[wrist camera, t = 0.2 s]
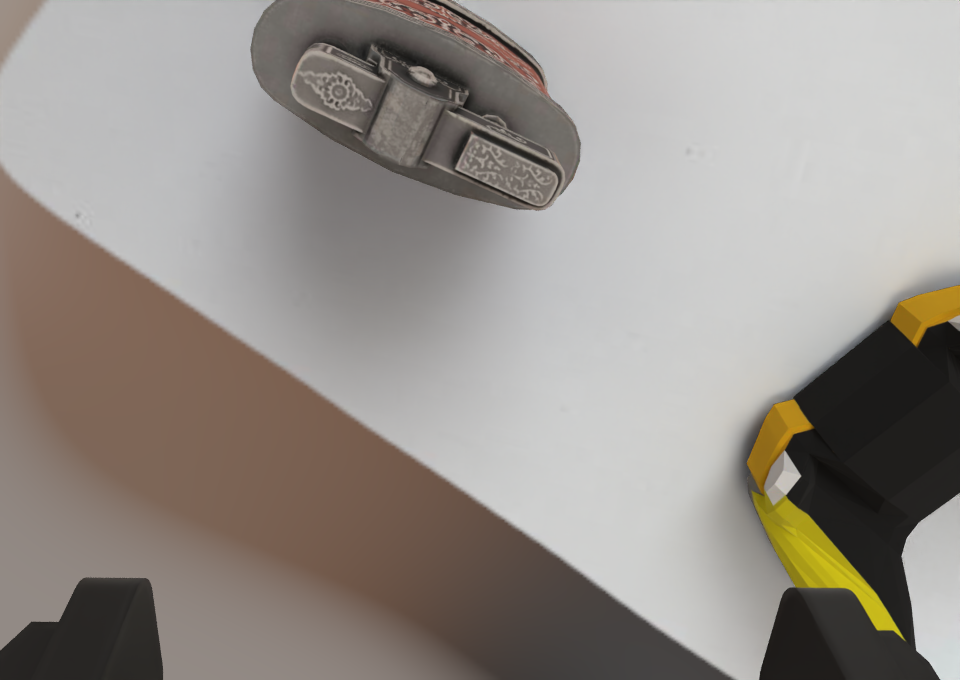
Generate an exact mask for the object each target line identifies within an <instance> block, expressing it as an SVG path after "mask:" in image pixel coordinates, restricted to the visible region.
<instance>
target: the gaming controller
mask: <svg viewBox="0 0 960 680" xmlns="http://www.w3.org/2000/svg"><path fill="white" fill-rule="evenodd" d="M747 465H748V467H749V469H750V471H751V473H750V475H749V476H748V478H747V484H748V491H749V495H750V498H751V500H752V502H753V505H754V507H755V509H756V512H757V514H758V516H759V518H760V521H761V523H762V525H763V528H764V530H765V532H766V535H767V537H768V539H769V541H770V543H771V544H772V546H773V548H774V550H775V552H776V553H777V555H778V557H779V559H780V560H781V562H782V564H783V566H784V567H785V569H786V571H787V573H788V574H789V576H790V578H791V580H792V581H793V583H794V585H795V587H796V588H847V589H849V590H851V591H852V592H853V593H854V594H855V595H856V596H857V598H858V599H859V601H860V602H861V604H862V606H863V607H864V609H865V611H866V613H867V614H868V616H869V618H870V619H871V621H872V623H873V624H874V626H875V628H876V629H877V630H893V631H895V632H896V633H897V634H898V635H899V636H900V637H901V638H902V639H903V640H905V641H906V642H907V643H908V644H909V645H910V646H911V647H912V648H914V649H915V650H916V646H915V636H914V626H913V617H912V607H911V601H910V596H909V591H908V586H907V581H906V576H905V572H904V567H903V562H902V557H901V556H902V552H903V549H904V545H905V542H906V538H907V537H908V536H909V534H910V533H911V532H912V530H913V529H914V528H915V527H916V525H917V524H918V523H919V522H920V521H921V520H923V519H924V518H925V517H927V516H928V515H930V514H931V513H932V512H934V511H935V510H937V509H938V508H939V507H941V506H942V505H943V504H945V503H946V502H948V501H949V500H950V499H952V498H953V497H955V496H956V495H957V494H959V493H960V285H957V286H953V287H949V288H945V289H941V290H937V291H933V292H929V293H925V294H921V295H917V296H914V297H912V298H909V299H907V300H904V301H902V302H899V303H898V305H897V307H896V310H895V312H894V314H893V316H892V318H891V320H890V321H887V322H886V323H885V324H883V325H882V326H881V327H880V328H878V329H877V330H876V331H875V332H874V333H872V334H871V335H870V336H869V337H867V338H866V339H865V340H864V341H862V342H861V343H860V344H859V345H857V346H856V347H855V348H854V349H853V350H851V351H850V352H849V353H848V354H846V355H845V356H844V357H843V358H841V359H840V360H839V361H838V362H837V363H835V364H834V365H833V366H832V367H830V368H829V369H828V370H827V371H825V372H824V373H823V374H822V375H820V376H819V377H818V378H817V379H816V380H814V381H813V382H812V383H811V384H809V385H808V386H807V387H806V388H804V389H803V390H802V391H801V392H800V393H798V394H797V395H796V396H795V397H794V399H793V400H789V401H785V402H781V403H777V404H774V405H773V407H772V408H771V410H770V412H769V413H768V415H767V416H766V418H765V420H764V422H763V425H762V427H761V430H760V432H759V435H758V437H757V439H756V442H755V444H754V447H753V449H752V452H751V454H750V456H749V459H748V461H747Z"/></svg>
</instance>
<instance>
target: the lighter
mask: <svg viewBox="0 0 960 680" xmlns="http://www.w3.org/2000/svg"><path fill="white" fill-rule="evenodd" d="M250 50H251V58H252V66H253V71H254V73H255V75H256V77H257V79H258V81H259V84H260V86H261V88H262V89H263V90H264V91H265V92H266V93H267V94H268V95H269V96H270V97H271V98H272V99H273V100H274V101H276V102H277V103H279V104H280V105H282V106H283V107H285V108H286V109H288V110H289V111H291V112H292V113H293V114H295V115H296V116H298V117H299V118H301V119H302V120H304V121H305V122H307V123H308V124H310V125H311V126H312V127H314V128H315V129H317V130H318V131H320V132H321V133H323V134H324V135H326V136H327V137H329V138H330V139H332V140H333V141H335V142H337V143H339V144H341V145H343V146H345V147H347V148H349V149H350V150H352V151H354V152H356V153H358V154H360V155H362V156H364V157H366V158H367V159H369V160H371V161H373V162H375V163H377V164H379V165H381V166H382V167H384V168H386V169H388V170H390V171H392V172H394V173H397V174H400V175H403V176H405V177H408V178H411V179H414V180H416V181H419V182H422V183H424V184H427V185H430V186H433V187H435V188H438V189H441V190H443V191H446V192H449V193H452V194H454V195H458V196H462V197H467V198H471V199H475V200H479V201H483V202H487V203H491V204H496V205H500V206H504V207H508V208H512V209H523V210H532V209H533V210H536V211H537V210H545V209H547V208H548V207H550V206H552V204H553V203H554V201H555V200H556V199H557V197H558V196H559V195H561V194H562V193H563V192H564V190H565V189H566V188H567V186H568V185H569V184H570V182H571V181H572V180H573V178H574V175H575V173H576V170H577V167H578V164H579V162H580V145H581V142H580V139H579V136H578V133H577V129H576V126H575V124H574V123H573V121H572V119H571V118H570V117H569V115H568V114H567V113H566V112H565V111H564V109H563V108H562V107H561V106H560V105H558V104H557V103H556V102H555V101H553V100H552V99H551V98H550V96H549V94H548V92H547V81H546V78H545V75H544V72H543V70H542V68H541V66H540V65H539V63H538V62H537V61H536V60H535V59H534V57H533V56H532V55H531V54H529V53H528V52H527V51H526V50H524V49H523V48H522V47H520V46H519V45H518V44H517V43H515V42H514V41H513V40H512V39H510V38H509V37H508V36H506V35H505V34H504V33H503V32H501V31H500V30H499V29H497V28H496V27H495V26H494V25H492V24H491V23H489V22H487V21H486V20H484V19H482V18H481V17H479V16H477V15H476V14H474V13H472V12H471V11H469V10H467V9H466V8H464V7H462V6H461V5H459V4H457V3H456V2H454V1H452V0H276V1H275V2H274V3H272V4H271V5H270V6H269V7H268V8H267V9H266V10H265V11H264V12H263V14H262V16H261V18H260V19H259V21H258V23H257V25H256V27H255V28H254V33H253V38H252V44H251V49H250Z"/></svg>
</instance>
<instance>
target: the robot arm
mask: <svg viewBox="0 0 960 680" xmlns="http://www.w3.org/2000/svg"><path fill="white" fill-rule="evenodd" d="M0 680H163V666H162V658H161V650H160V643H159V635H158V628H157V621H156V614H155V606H154V599H153V593H152V587H151V584H150V582H149V580H148V579H146V578H83V579H82V580H81V581H80V582H79V583H78V585H77V586H76V588H75V590H74V592H73V594H72V596H71V598H70V600H69V602H68V605H67V607H66V609H65V611H64V613H63V615H62V617H61V619H60V621H59V622H31V623H30V624H29V625H28V626H27V627H25V628H24V629H23V630H22V631H21V632H20V633H19V634H18V635H17V636H16V637H15V638H14V639H12V640H11V641H10V642H9V643H8V644H7V645H6V646H5V647H4V648H3V649H2V650H0ZM759 680H940V679H939V677H938V676H937V674H936V672H935V671H934V669H933V668H932V666H931V665H930V663H929V662H928V661H927V660H926V659H925V658H924V657H923V656H921V655H920V654H919V653H918V652H917V651H916V650H915V649H914V648H912V647H911V646H910V645H909V644H908V643H907V642H906V641H905V640H903V639H902V638H901V637H900V636H899V635H898V634H897V633H896V632H895V631H893V630H877V629H876V628H875V626H874V624H873V623H872V621H871V619H870V618H869V616H868V614H867V613H866V611H865V609H864V607H863V606H862V604H861V602H860V601H859V599H858V598H857V596H856V595H855V594H854V593H853V592H852V591H851V590H849V589H847V588H796V587H792V588H788V589H787V590H786V591H785V592H784V594H783V596H782V598H781V601H780V605H779V608H778V612H777V615H776V619H775V622H774V626H773V629H772V632H771V636H770V639H769V643H768V646H767V650H766V653H765V657H764V660H763V664H762V667H761V671H760V678H759Z"/></svg>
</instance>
